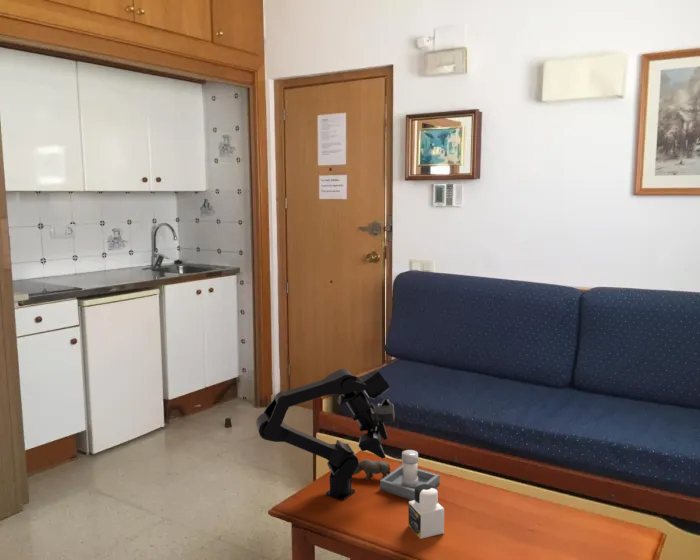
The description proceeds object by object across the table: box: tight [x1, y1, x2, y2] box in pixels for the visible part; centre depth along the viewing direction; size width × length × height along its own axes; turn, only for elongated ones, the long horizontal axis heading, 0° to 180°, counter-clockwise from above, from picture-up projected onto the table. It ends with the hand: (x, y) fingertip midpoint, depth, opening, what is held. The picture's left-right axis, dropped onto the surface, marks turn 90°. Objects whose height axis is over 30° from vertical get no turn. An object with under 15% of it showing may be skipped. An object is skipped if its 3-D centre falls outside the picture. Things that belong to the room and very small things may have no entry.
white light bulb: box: [401, 449, 419, 488], centre depth 193 cm, size 5×5×10 cm
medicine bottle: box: [408, 484, 445, 540], centre depth 170 cm, size 7×7×12 cm
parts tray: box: [379, 464, 441, 501], centre depth 194 cm, size 13×13×3 cm
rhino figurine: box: [353, 458, 392, 481], centre depth 200 cm, size 4×14×6 cm, turn 78°
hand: (385, 448), depth 193 cm, fingers open, 9 cm apart
